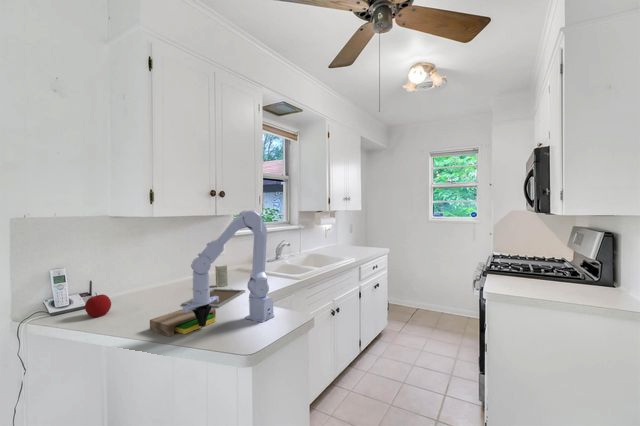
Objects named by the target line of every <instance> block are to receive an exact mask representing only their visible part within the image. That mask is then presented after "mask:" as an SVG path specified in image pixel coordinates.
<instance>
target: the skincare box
mask: <svg viewBox="0 0 640 426" xmlns="http://www.w3.org/2000/svg"><path fill="white" fill-rule="evenodd" d="M228 282H229V281H228V264H218V265H215V286H216V288H220V287H228V284H229V283H228Z"/></svg>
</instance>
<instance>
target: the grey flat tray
mask: <svg viewBox="0 0 640 426" xmlns="http://www.w3.org/2000/svg"><path fill="white" fill-rule="evenodd" d="M209 290H210V297H213V296H219V301H218V302H213V303H211V304H209V305H211V306H212V308H214V309H220V308H221V307H222V306H224V305H226V304H228V303H229V302H231V301H233V300H234V299H236V298H238V297H240V296H242V295H243V294H244V293H246V289H233V288H229V289H228V288H227V289H226V288H212V289H209ZM192 302H193V298H191V299H188V300H185V301H184V302H182V303H181V305H180V306H181V307H183V306H186V305H188V304H190V303H192Z"/></svg>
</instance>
